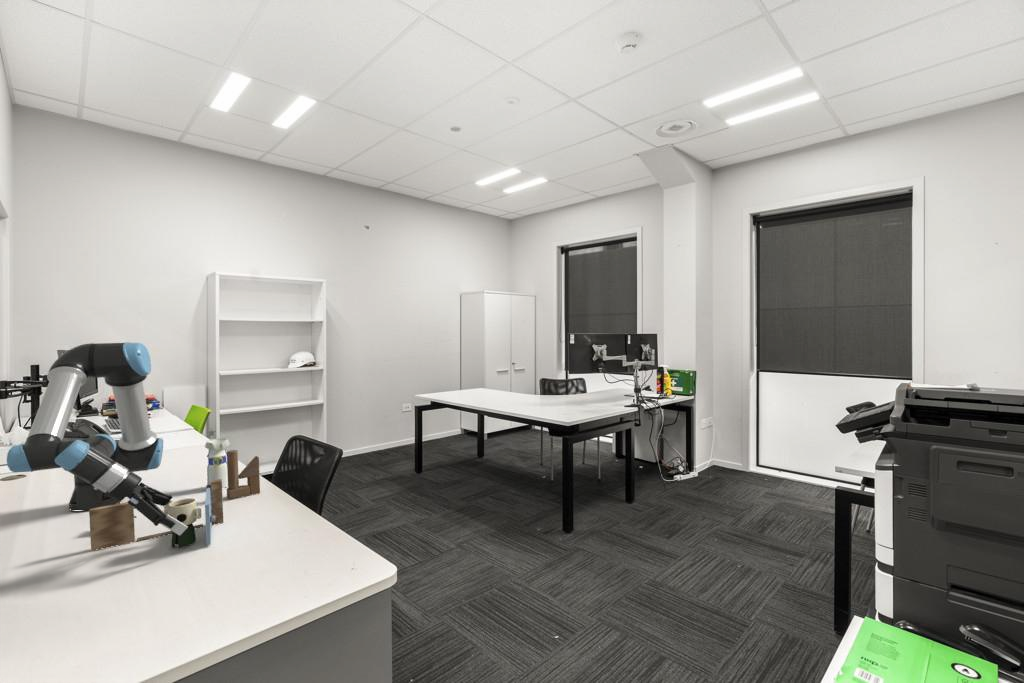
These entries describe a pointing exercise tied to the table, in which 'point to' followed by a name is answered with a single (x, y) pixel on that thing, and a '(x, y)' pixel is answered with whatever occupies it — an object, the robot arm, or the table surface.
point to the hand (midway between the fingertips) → (185, 523)
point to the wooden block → (242, 476)
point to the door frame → (118, 521)
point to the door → (208, 516)
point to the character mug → (184, 520)
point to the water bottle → (217, 459)
